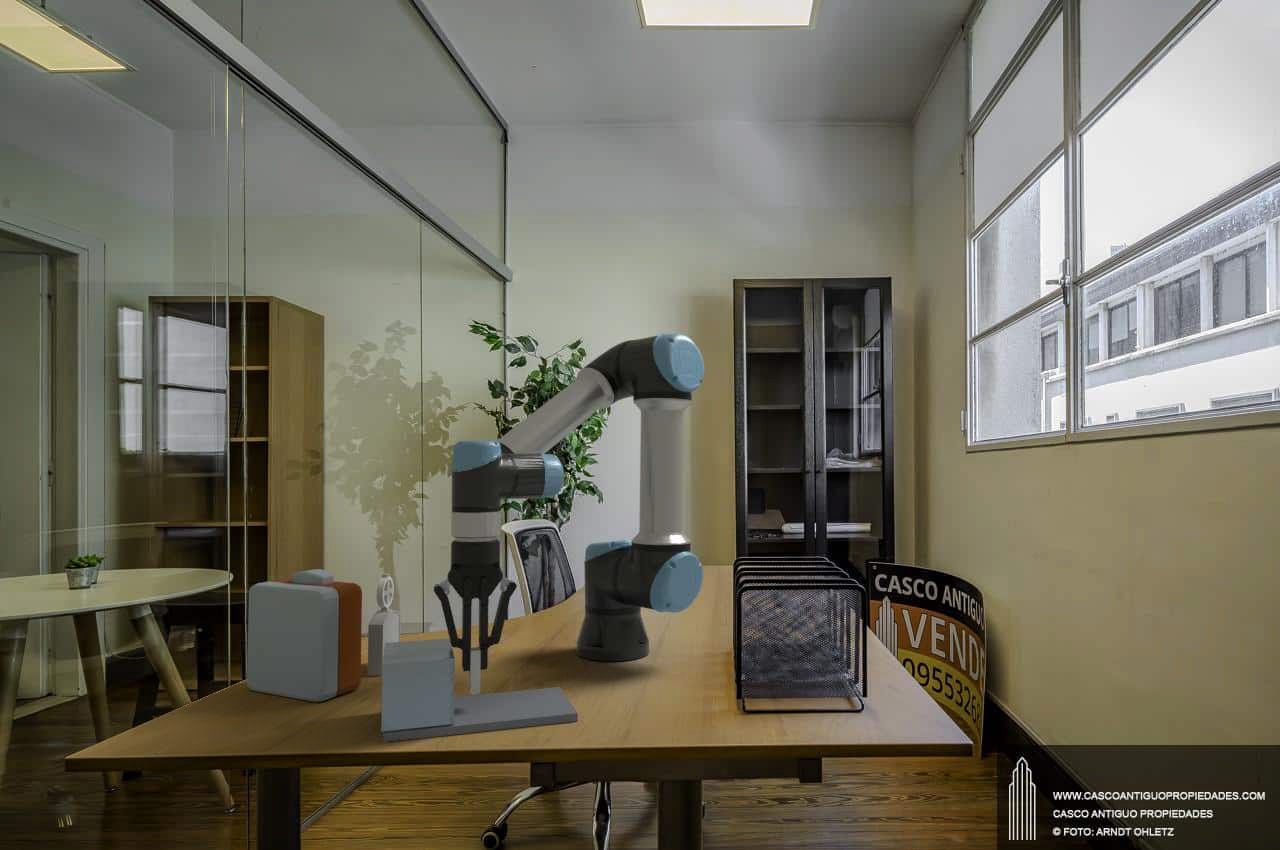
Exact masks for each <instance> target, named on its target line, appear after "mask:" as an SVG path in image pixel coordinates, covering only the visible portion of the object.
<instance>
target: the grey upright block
mask: <svg viewBox="0 0 1280 850" xmlns="http://www.w3.org/2000/svg"><path fill="white" fill-rule="evenodd" d="M453 650H454V649H453V647H452V645H451V642H450V638H449V637H448V638H435V639H422V640H421V639H420V640H409V641H405V640H404V641H400V642H391V643H385V647H384V655H383V663H382V676H381V724H380V725H381V727H380V728H381V729H380V730H381V731H380V732H383V733H384V731H393V730H402V729H412V728H421V727H430V726H440V725H449V724H454V697H455V675H456V674H455V673H456V671H455V668H456V667H455V665H456V664H455V662H456V660H455V654H454V651H453Z"/></svg>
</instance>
